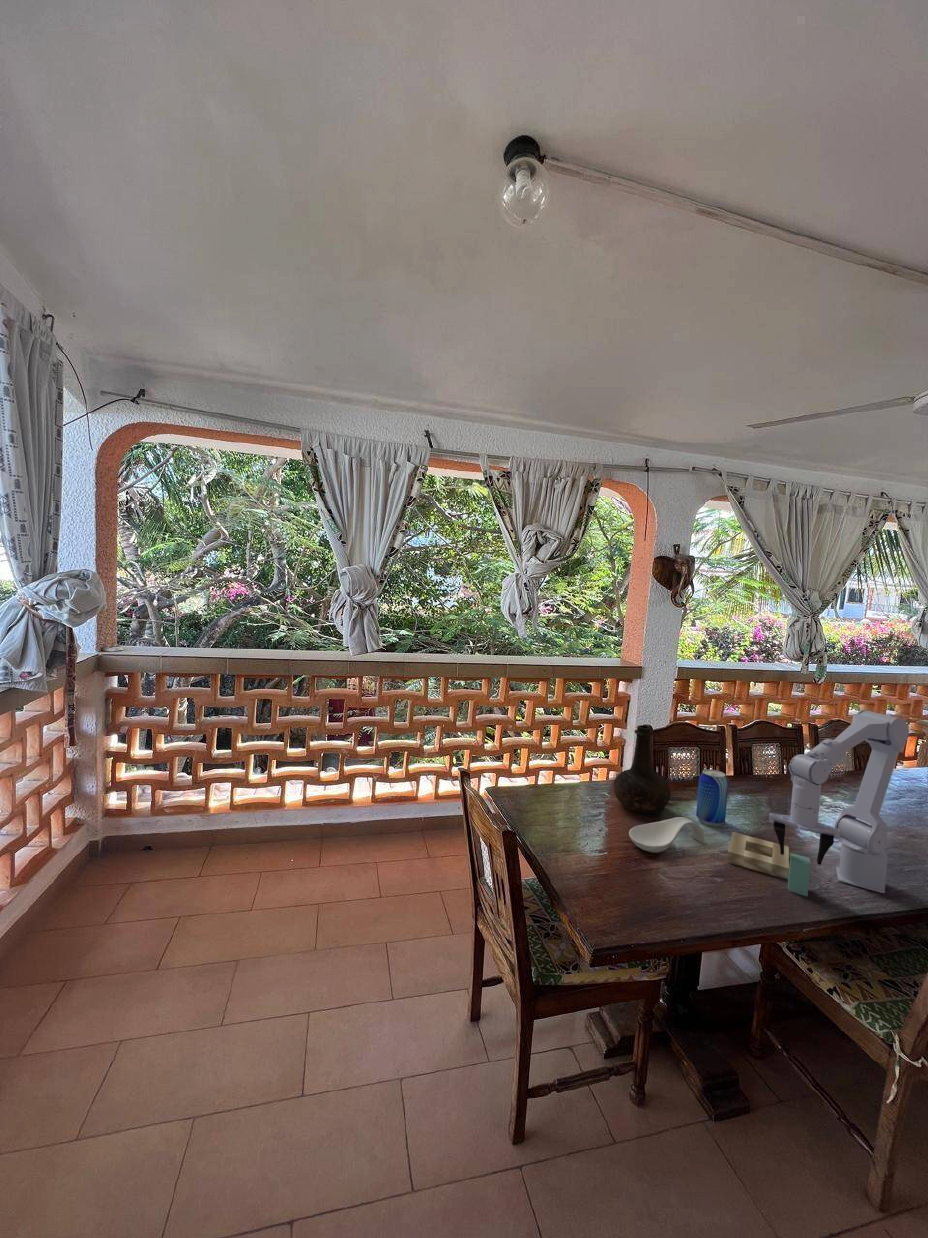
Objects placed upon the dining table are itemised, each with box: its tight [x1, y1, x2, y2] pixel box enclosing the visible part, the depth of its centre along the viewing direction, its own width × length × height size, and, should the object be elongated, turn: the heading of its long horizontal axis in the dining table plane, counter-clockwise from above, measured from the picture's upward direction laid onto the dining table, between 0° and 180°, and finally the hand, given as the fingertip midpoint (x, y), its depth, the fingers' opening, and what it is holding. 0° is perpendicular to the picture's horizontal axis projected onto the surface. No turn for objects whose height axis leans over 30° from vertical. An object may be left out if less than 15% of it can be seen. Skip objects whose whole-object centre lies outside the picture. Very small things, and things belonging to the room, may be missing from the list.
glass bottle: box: [613, 724, 671, 815], centre depth 171 cm, size 18×18×28 cm
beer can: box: [695, 768, 729, 828], centre depth 164 cm, size 8×8×16 cm
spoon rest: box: [628, 816, 706, 854], centre depth 148 cm, size 24×12×7 cm, turn 111°
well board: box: [726, 831, 790, 880], centre depth 141 cm, size 14×14×3 cm
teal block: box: [787, 852, 811, 897], centre depth 127 cm, size 4×4×8 cm
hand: (800, 858), depth 127 cm, fingers open, 7 cm apart
